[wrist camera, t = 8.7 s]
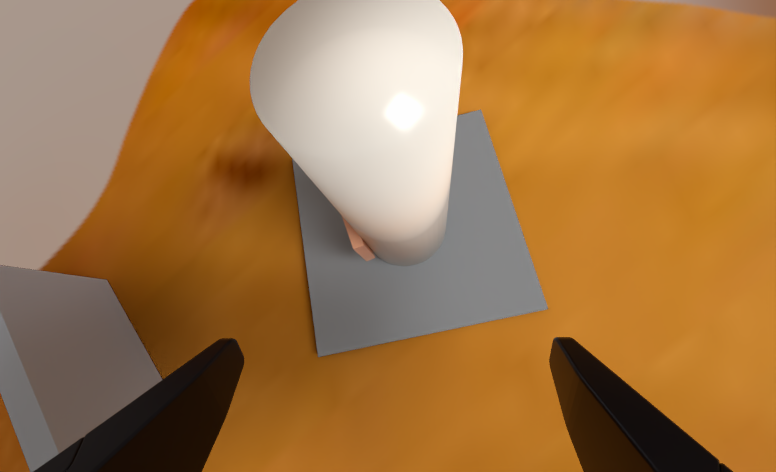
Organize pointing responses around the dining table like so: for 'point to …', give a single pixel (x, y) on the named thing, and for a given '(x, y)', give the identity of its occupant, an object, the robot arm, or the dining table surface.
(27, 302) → the screen
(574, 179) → the dining table surface
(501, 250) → the slate mat
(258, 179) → the dining table surface
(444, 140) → the white rounded cylinder
